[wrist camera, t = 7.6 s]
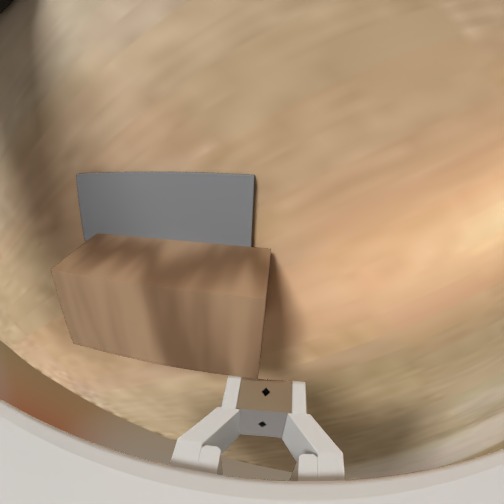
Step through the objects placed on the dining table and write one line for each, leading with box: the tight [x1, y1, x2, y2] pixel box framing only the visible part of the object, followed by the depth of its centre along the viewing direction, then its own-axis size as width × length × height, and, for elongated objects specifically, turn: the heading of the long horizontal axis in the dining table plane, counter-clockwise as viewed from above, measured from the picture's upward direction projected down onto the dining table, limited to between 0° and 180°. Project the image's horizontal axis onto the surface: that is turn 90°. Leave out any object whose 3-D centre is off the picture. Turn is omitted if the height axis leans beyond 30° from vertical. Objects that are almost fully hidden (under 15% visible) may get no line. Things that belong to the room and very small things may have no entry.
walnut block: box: [51, 233, 271, 379], centre depth 17 cm, size 5×5×11 cm
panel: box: [76, 172, 255, 247], centre depth 19 cm, size 11×13×1 cm
